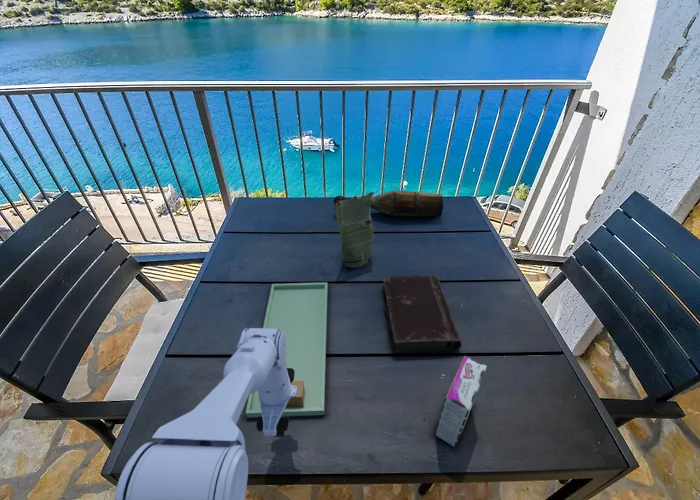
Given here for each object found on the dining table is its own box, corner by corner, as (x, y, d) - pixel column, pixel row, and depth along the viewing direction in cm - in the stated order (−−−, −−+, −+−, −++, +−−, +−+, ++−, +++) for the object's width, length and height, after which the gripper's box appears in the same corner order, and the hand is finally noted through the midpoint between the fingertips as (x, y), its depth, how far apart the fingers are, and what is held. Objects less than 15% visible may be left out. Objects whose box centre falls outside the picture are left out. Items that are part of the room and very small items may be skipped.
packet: (303, 407, 81) (301, 397, 78) (269, 407, 80) (266, 397, 78) (305, 390, 84) (303, 380, 81) (271, 391, 84) (269, 381, 81)
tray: (324, 415, 80) (323, 410, 78) (247, 417, 79) (245, 413, 78) (327, 287, 112) (327, 282, 111) (272, 288, 112) (271, 283, 111)
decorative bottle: (439, 200, 149) (334, 196, 151) (445, 186, 139) (332, 182, 141) (440, 222, 145) (332, 218, 147) (446, 210, 135) (330, 206, 137)
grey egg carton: (451, 395, 83) (464, 354, 73) (471, 406, 81) (488, 365, 71) (432, 435, 76) (445, 396, 66) (455, 449, 74) (471, 410, 64)
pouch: (334, 265, 120) (331, 203, 105) (345, 245, 129) (344, 185, 114) (365, 272, 118) (367, 208, 102) (374, 251, 127) (377, 190, 111)
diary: (437, 285, 112) (439, 274, 109) (459, 351, 93) (463, 339, 90) (379, 287, 112) (380, 276, 109) (390, 354, 92) (391, 342, 89)
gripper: (289, 418, 56) (297, 453, 65) (298, 343, 67) (304, 381, 76) (245, 418, 56) (259, 454, 65) (261, 344, 67) (272, 382, 76)
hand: (281, 415), depth 70 cm, fingers open, 7 cm apart
